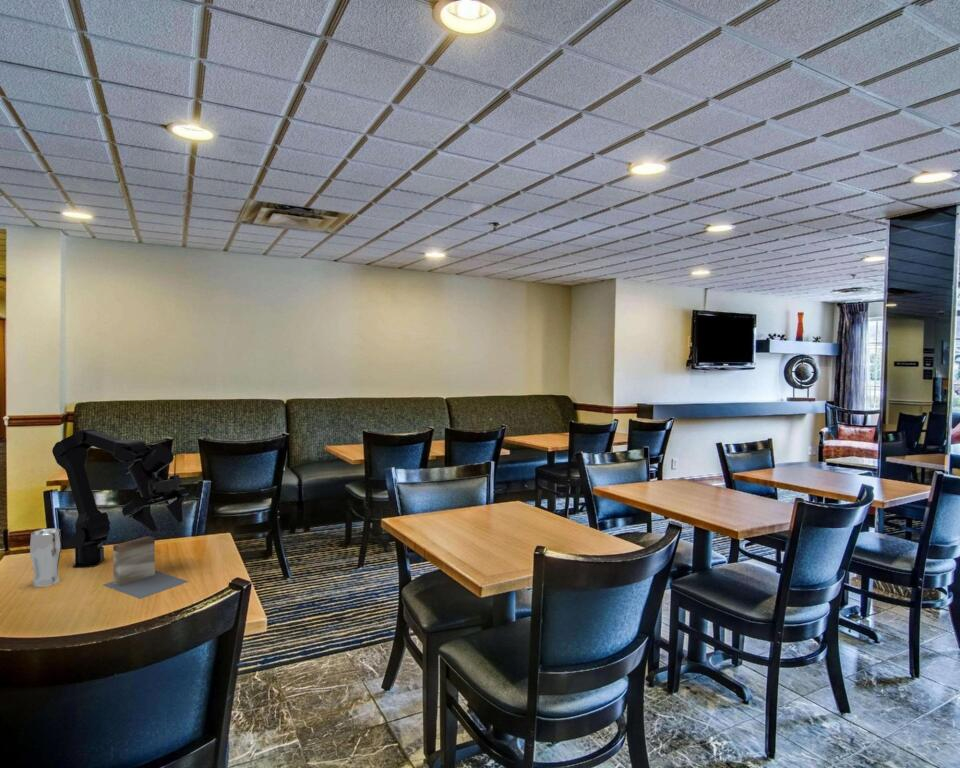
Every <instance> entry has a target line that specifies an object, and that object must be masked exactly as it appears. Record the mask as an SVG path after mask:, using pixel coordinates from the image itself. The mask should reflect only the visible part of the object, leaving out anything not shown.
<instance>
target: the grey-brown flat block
mask: <svg viewBox="0 0 960 768" xmlns="http://www.w3.org/2000/svg"><path fill="white" fill-rule="evenodd" d="M155 538H156V537H153V536H149V535H147V536H143V537H141V538H136V539H133V540H129V541H125V542H121V543H118V544H113V545H112V546H113V549H112V550H113V551H112V553H113V557H112V558H113V581H114V584H115V585H118V586H122V585H125V584H128V583H131V582H134V581H137V580H140V579H143V578H147V577H150V576H153V575H155V571H156V564H155V563H156V560H155V559H156V558H155V555H156V550H155V549H156V548H155V547H156V545H155V543H156V542H155Z"/></svg>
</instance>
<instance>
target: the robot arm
mask: <svg viewBox="0 0 960 768" xmlns="http://www.w3.org/2000/svg"><path fill="white" fill-rule="evenodd" d="M92 447H94V448H96V449H99V450H103V451H106V452H108V453H111V454H112V456H113V458H114V459H116V460H118V461H119V462H121V463H128V462H129V463H130V462H133V463H130V464H129V463H128V464H126V467H125V469H124V470H123V474H124V475H127V474H130V475H131V477H132V480H133V481H134V483H135V488H134V489H133V490H134V492H136V493H137V492H139V494H140V497H138V498H133V499H132V500H130V501H129V502H127V503H126V504H124V505H123V506H122V508H121V512H122V515H123V517H128V518H129V519H134V520H135V521H137V522H138V523H141V524H142V525H143V526H145V527H146V528H147V529H149V530H150V531H151V532H156V531H158V527H157V525H156V523H155V520H154V518H153V516H152V513H151V507H152V506H154V505H157V504H160V503H161V504H162V503H165V504H167V505H166V508H167V510H168V511H169V512H170V513H171V515H172V516H173V517H174V519H175V521H177V522H178V523H179V524H181V523H183V521H184V520H183V502H184V500H185V499H186V498H187V495H189V492H188V490H187V488H186V487H184V486H181V485H182V478H181V477H180V476H179V474H174V475H170V476H169V478H168V479H166V480H164V479H163V477H161V476H157V474H156V473H158V472H160V471H161V470H163V469H164V468H166V467H167V466H168V465H170V464H171V463H172V462H173V461H174V454H173V451H171V450H170V449H169V448H168V447H165V446H164V445H162V443H157V444H154V445H152V447H150V446H148V445H147V444H146V442H144V441H143V440H135V439H122V438H118V437H116V436H113V435H109V434H107V433H103V432H102V431H98V430H96V429H94V428H86V429H85V428H84V429H79V430H77V431H75V432H74V433H73V434H71V435H68V436H67V437H65V438H63V439H61V440H60V441H57V442H56V443H54V446H53V447H52V449H51V452H52V455H53V457H54V460H55V462H56V464H57V465H58V466H60V467H61V468H62V469H63V470H64V471H65V473H66V476H67V480H68V484H69V486H70V490H71V494H72V497H73V501H74V505H75V507H76V511H77V519H76V521H75V524H74V525H75V526H74V527H75V528H74V529H75V532H74V534H72V536H71V537H70V538H69V539H68V544H69V547H70V548H74V553H75V554H74V557H75V559H74V564H73V565H72V568H83V567H84V568H85V567H87V568H88V567H96V566H98V565H100V564H101V563H102V562H103V561H104V560H105V559H106V557H105V547H104V546H103V542H106V541H108V537H109V534H110V531H111V525H112V523H111V522H110V519H109V515H108V513H107V512H103V511H101V510H99V508H98V506H97V502H96V499H95V496H94V493H93V490H92V486H91V481H90V478H89V476H88V472H87V469H86V462H87V459H88V457H89V455H88V451H89V450H90V449H91V448H92ZM179 486H181V487H179Z"/></svg>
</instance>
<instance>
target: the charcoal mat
mask: <svg viewBox="0 0 960 768" xmlns="http://www.w3.org/2000/svg"><path fill="white" fill-rule="evenodd" d="M189 582H190V581H189V580H186V579H182V578H180V577H176V576H172V575H170V574H167V573H163V572H160V571H157V570H155V575H153V576H150V577H147V578H143V579H140V580H137V581H134V582H131V583H128V584H125V585H122V586H118V585H115V584H114V580H113V581H110V582H107V583H104V584H102V586H103V587H106V588H109V589H112V590H113V591H117V592H120V593H123V594H124V595H128V596H131V597H134V598H136V599H139V600H141V599H144V598H147V597H151V596H153V595H155V594H158V593H162V592H163V591H164V592H165V591H166V590H169V589H172V588H175V587H178V586H181V585H184V584H186V583H189Z"/></svg>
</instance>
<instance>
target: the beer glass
mask: <svg viewBox="0 0 960 768" xmlns="http://www.w3.org/2000/svg"><path fill="white" fill-rule="evenodd" d="M61 551H62V536H61V528H60V529H59V528H55V527H51V528H50V527H49V528H42V529H38V530H35V531H33V532H30V542H29V552H30V553H29V554H30V558H31V563H32V568H33V573H34V574H33V580H32V586H33V587H35V588H41V587H49V586H52V585H55V584H58V583H59V582H60V580H61V579H60V576H59V561H60V557H61V553H62V552H61Z"/></svg>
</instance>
